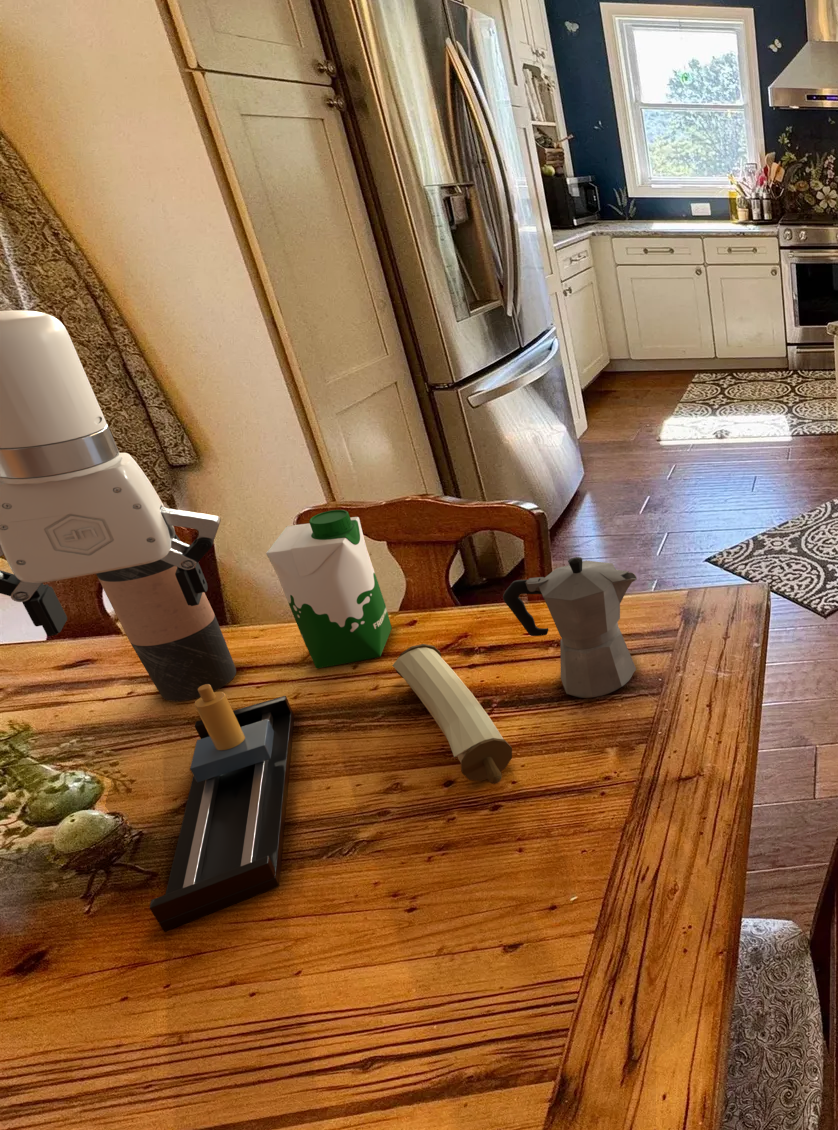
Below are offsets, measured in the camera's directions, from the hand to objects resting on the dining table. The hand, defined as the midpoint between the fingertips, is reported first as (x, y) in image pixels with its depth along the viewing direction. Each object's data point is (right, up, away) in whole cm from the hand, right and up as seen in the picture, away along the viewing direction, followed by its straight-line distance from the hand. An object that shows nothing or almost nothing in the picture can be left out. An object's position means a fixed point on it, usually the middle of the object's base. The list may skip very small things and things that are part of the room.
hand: (129, 613), depth 75 cm
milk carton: (-1, -10, +30) cm, 31 cm away
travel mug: (-15, -13, +22) cm, 30 cm away
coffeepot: (+33, -13, +26) cm, 44 cm away
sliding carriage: (+3, -17, +9) cm, 19 cm away
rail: (+6, -21, +5) cm, 23 cm away
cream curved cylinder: (+21, -17, +17) cm, 32 cm away
